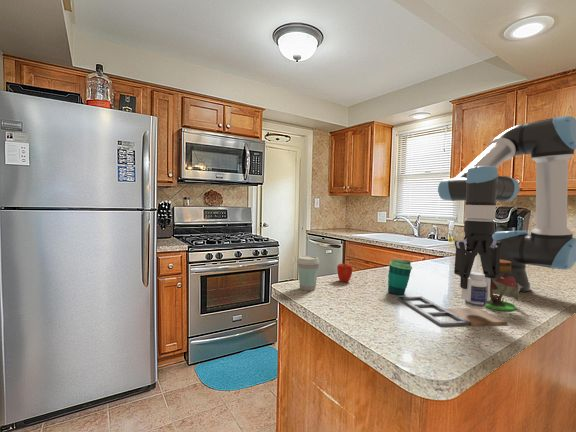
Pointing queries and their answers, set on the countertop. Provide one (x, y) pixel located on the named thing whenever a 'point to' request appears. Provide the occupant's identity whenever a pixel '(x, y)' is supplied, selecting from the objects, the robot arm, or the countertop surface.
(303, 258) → the coffee cup
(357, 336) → the countertop surface
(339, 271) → the red bell pepper
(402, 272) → the cup
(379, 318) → the countertop surface
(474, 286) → the pill bottle
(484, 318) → the coaster
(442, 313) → the gray rectangular frame
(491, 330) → the countertop surface
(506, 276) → the mushroom toy
